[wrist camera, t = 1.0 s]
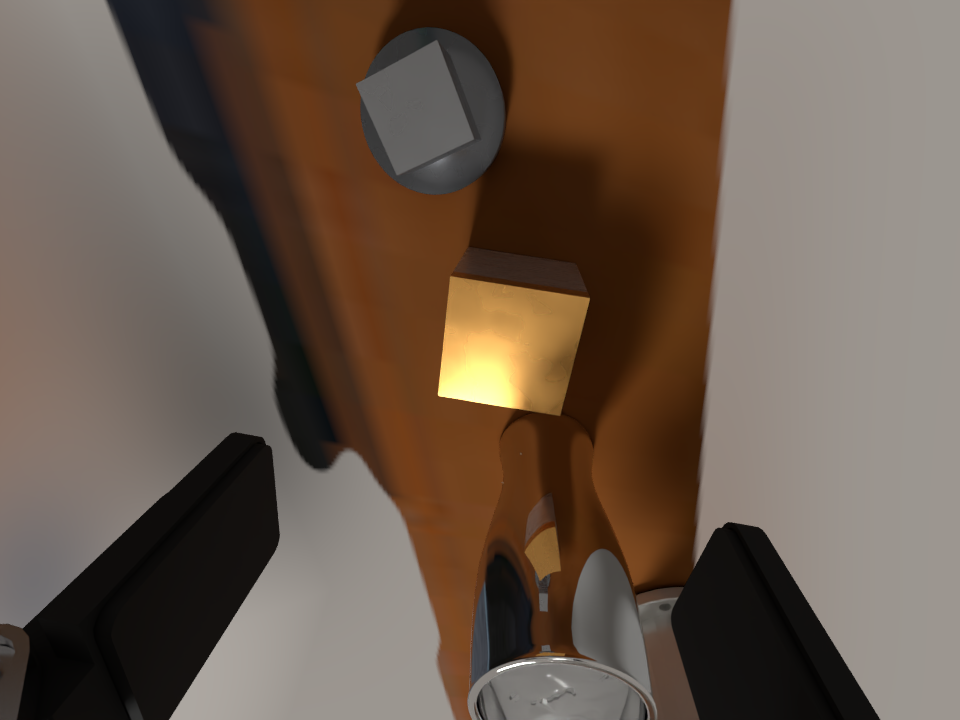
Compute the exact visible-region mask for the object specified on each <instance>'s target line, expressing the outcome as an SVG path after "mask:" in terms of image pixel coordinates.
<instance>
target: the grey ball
mask: <svg viewBox="0 0 960 720" xmlns="http://www.w3.org/2000/svg"><path fill="white" fill-rule="evenodd" d="M356 86H357V88H358V90H359V92H360V95H361V121H362V127H363V131H364V135H365V138H366V141H367V143H368V146H369V148H370V150H371V152H372V154H373V156H374V158H375V159H376V160H377V162H378V163H379V165H380V166H381V167H382V168H383V170H384V171H385V172H386V173H387V174H388V175H389V176H390V177H392V178H393V179H394V180H395V181H397V182H398V183H400V184H401V185H403V186H405V187H407V188H409V189H411V190H414V191H416V192H420V193H425V194H434V195H436V194H446V193H451V192H454V191H457V190H460V189H462V188H464V187H466V186H467V185H469V184H471V183H473V182H474V181H475V180H477V179H478V178H480V177H481V176H482V175H483V174H484V173H485V172H486V171H487V170H488V168H489V167H490V166H491V165H492V163H493V162H494V160H495V158H496V157H497V155H498V152H499V150H500V148H501V145H502V142H503V139H504V134H505V128H506V107H505V100H504V96H503V92H502V89H501V86H500V84H499V81H498V79H497V76H496V74H495V72H494V70H493V69H492V67H491V65H490V63H489V62H488V60H487V59H486V58H485V56H484V55H483V54H482V53H481V52H480V50H479V49H478V48H477V47H476V46H475V45H473V44H472V43H471V42H470V41H468V40H467V39H465V38H464V37H462V36H460V35H458V34H456V33H454V32H451V31H449V30H445V29H440V28H431V27H426V28H417V29H414V30H410V31H407V32H405V33H403V34H401V35H399V36H397V37H396V38H394V39H393V40H391V41H390V42H389V43H388V44H387V45H385V46H384V47H383V48H382V50H381V51H380V52H379V53H378V54H377V56H376V57H375V59H374V60H373V62H372V64H371V65H370V68H369V70H368V72H367V74H366V77H365V79H364V80H363V81H361V82H359V83H357V84H356Z"/></svg>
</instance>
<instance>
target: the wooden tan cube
mask: <svg viewBox="0 0 960 720" xmlns="http://www.w3.org/2000/svg"><path fill="white" fill-rule="evenodd" d="M589 301H590V297H589V294H588V292H587V289H586V287H585V284H584V282H583V280H582V277H581V275H580V272H579V270H578V267H577V265H576V263H570V262H563V261H557V260H550V259H544V258H537V257H531V256H525V255H518V254H512V253H505V252H499V251H492V250H486V249H479V248H473V247H468V248H467V250H466V252H465V253H464V255H463V256H462V258H461V260H460V261H459V263H458V265H457V266H456V268H455V270H454V271H453V273H452V274H451V276H450V285H449V295H448V304H447V314H446V324H445V334H444V344H443V353H442V363H441V373H440V383H439V393H438V396H443V397H449V398H455V399H461V400H467V401H473V402H479V403H485V404H491V405H497V406H504V407H510V408H516V409H522V410H528V411H534V412H540V413H546V414H552V415H558V416H560V414H561V410H562V406H563V403H564V399H565V395H566V391H567V387H568V383H569V379H570V375H571V371H572V367H573V364H574V360H575V356H576V352H577V348H578V344H579V340H580V336H581V332H582V328H583V324H584V321H585V317H586V313H587V309H588V305H589Z"/></svg>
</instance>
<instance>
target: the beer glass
mask: <svg viewBox="0 0 960 720" xmlns="http://www.w3.org/2000/svg"><path fill="white" fill-rule="evenodd" d="M499 455H500V461H501V465H502V470H503V482H502V489H501V493H500V496H499V500H498V503H497V506H496V509H495V512H494V515H493V517H492V521H491V524H490V527H489V530H488V533H487V536H486V539H485V543H484V547H483V551H482V555H481V558H480V562H479V567H478V574H477V580H476V586H475V593H474V604H473V616H472V632H471V656H470V685H469V694H468V709H469V713H470V715H471V718H472V720H657V717H658V714H657V708H656V704H655V701H654V696H653V690H652V684H651V677H650V670H649V663H648V656H647V650H646V644H645V638H644V632H643V626H642V621H641V616H640V611H639V606H638V602H637V597H636V593H635V589H634V586H633V582H632V578H631V575H630V571H629V568H628V564H627V562H626V559H625V557H624V554H623V551H622V549H621V546H620V544H619V541H618V539H617V536H616V534H615V532H614V530H613V527H612V525H611V523H610V521H609V519H608V516H607V514H606V512H605V510H604V508H603V506H602V504H601V502H600V499H599V497H598V495H597V492H596V490H595V487H594V483H593V478H592V467H593V445H592V441H591V438H590V436H589V434H588V432H587V431H586V430H585V428H584V427H583V426H582V425H581V424H580V423H579V422H577V421H576V420H574V419H573V418H571V417H569V416H567V415H564V414H560V416H558V415H552V414H546V413H540V412H534V413H530V414H527V415H524V416H522V417H520V418H518V419H517V420H515V421H514V422H512V423H511V424H510V425H509V426H508V427H507V429H506V430H505V431H504V433H503V435H502V437H501V440H500V444H499Z"/></svg>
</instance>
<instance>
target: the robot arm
mask: <svg viewBox="0 0 960 720" xmlns="http://www.w3.org/2000/svg"><path fill="white" fill-rule="evenodd" d="M279 537H280V534H279V522H278V511H277V501H276V489H275V478H274V467H273V456H272V449H271V447H270V446H268V445H266V444H265V441H264V439H263V438H262V437H258V436H253V435H247V434H242V433H236V432H235V433H231V434H230V435H229V436H227V437H226V438H225V439H224V440H223V441H222V442H221V443H220V444H219V445H218V446H217V447H216V448H215V449H214V450H213V451H211V452H210V453H209V454H208V455H207V456H206V457H205V458H204V459H203V460H202V461H201V462H200V463H199V464H198V465H197V466H196V467H195V468H194V469H193V470H191V471H190V472H189V473H188V474H187V475H186V476H185V477H184V478H183V479H182V480H181V481H180V482H179V483H178V484H177V485H176V486H175V487H174V488H173V489H172V490H170V491H169V492H168V493H167V494H165V495H164V496H163V497H161V498H160V499H159V500H158V501H157V502H156V503H155V504H154V505H153V506H152V507H151V508H149V509H148V510H147V511H146V512H145V513H144V514H143V515H142V516H141V517H140V518H139V519H138V520H137V521H136V522H135V523H134V524H133V525H132V526H130V527H129V528H128V530H126V531H125V532H124V533H123V534H122V535H121V536H120V537H119V538H118V539H117V540H116V541H115V542H114V543H113V544H112V545H110V546H109V547H108V548H107V549H106V550H105V551H104V552H103V553H102V554H101V555H100V556H99V557H98V558H97V559H96V560H95V561H94V562H93V563H91V564H90V565H89V566H88V567H87V568H86V569H85V570H84V571H83V572H82V573H81V574H80V575H79V576H78V577H77V578H76V579H74V580H73V581H72V582H71V583H70V584H69V585H68V586H67V587H66V588H65V589H64V590H63V591H62V592H61V593H60V594H59V595H58V596H57V597H55V598H54V599H53V600H52V601H51V602H50V603H49V604H48V605H47V606H46V607H45V608H44V609H43V610H42V611H41V612H40V613H39V614H38V615H37V616H35V617H34V618H33V619H32V620H31V621H30V622H29V623H28V624H27V625H26V626H25V627H24V628H23V629H22V628H20V627H17V626H14V625H10V624H0V720H169V719H170V717H171V716H172V714H173V712H174V711H175V709H176V707H177V706H178V704H179V703H180V701H181V700H182V698H183V697H184V695H185V693H186V692H187V690H188V689H189V687H190V686H191V684H192V682H193V681H194V679H195V677H196V676H197V674H198V673H199V671H200V670H201V668H202V667H203V665H204V663H205V662H206V660H207V659H208V657H209V655H210V654H211V652H212V651H213V649H214V647H215V646H216V644H217V643H218V641H219V640H220V638H221V636H222V635H223V633H224V632H225V630H226V629H227V627H228V625H229V624H230V622H231V621H232V619H233V617H234V616H235V614H236V613H237V611H238V609H239V608H240V606H241V604H242V603H243V601H244V600H245V598H246V597H247V595H248V594H249V592H250V590H251V589H252V587H253V586H254V584H255V583H256V581H257V579H258V578H259V576H260V575H261V573H262V571H263V570H264V568H265V566H266V565H267V564H268V562H269V560H270V559H271V557H272V556H273V554H274V552H275V550H276V548H277V546H278V542H279ZM636 597H637V602H638V606H639V611H640V616H641V621H642V626H643V632H644V638H645V644H646V650H647V656H648V663H649V670H650V677H651V684H652V690H653V696H654V701H655V704H656V708H657V714H658V717H657V720H880V719H879V717H878V715H877V714H876V712H875V710H874V709H873V707H872V706H871V704H870V703H869V701H868V699H867V697H866V696H865V694H864V693H863V691H862V690H861V688H860V686H859V685H858V683H857V681H856V680H855V678H854V676H853V675H852V673H851V671H850V670H849V669H848V667H847V665H846V663H845V662H844V660H843V658H842V657H841V655H840V654H839V652H838V650H837V649H836V647H835V646H834V644H833V642H832V641H831V639H830V637H829V636H828V634H827V633H826V631H825V629H824V628H823V626H822V624H821V623H820V621H819V620H818V618H817V616H816V615H815V613H814V611H813V610H812V608H811V607H810V605H809V603H808V602H807V600H806V599H805V597H804V595H803V594H802V592H801V590H800V589H799V587H798V585H797V584H796V582H795V581H794V579H793V577H792V576H791V574H790V572H789V571H788V569H787V568H786V566H785V564H784V563H783V561H782V560H781V558H780V556H779V555H778V553H777V551H776V550H775V548H774V546H773V545H772V543H771V542H770V540H769V538H768V537H767V535H766V534H765V532H763V530H762V529H760V528H759V527H754V526H748V525H743V524H737V523H732V522H731V523H730V522H728V523H726V524H725V525H724V526H723V527H722V528H717V529H716V530H715V531H714V532H713V534H712V536H711V538H710V540H709V542H708V543H707V545H706V547H705V549H704V551H703V553H702V555H701V556H700V558H699V560H698V562H697V564H696V566H695V568H694V569H693V571H692V573H691V575H690V577H689V579H688V581H687V582H686V584H685V586H684V587H670V588H662V589H655V590H652V591H648V592H644V593H640V594H638V595H636Z"/></svg>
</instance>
